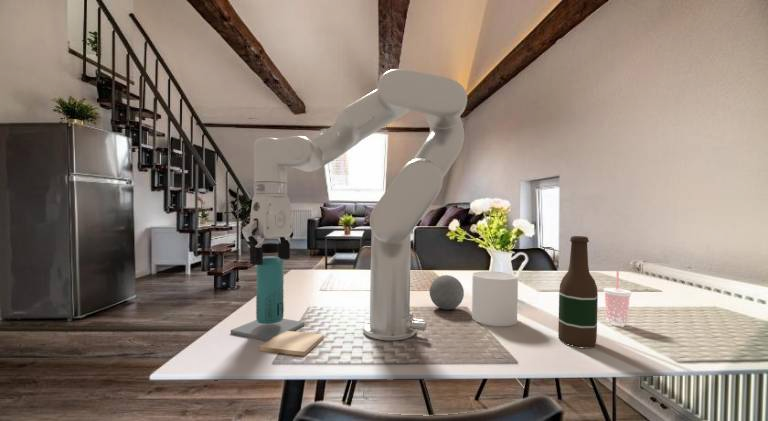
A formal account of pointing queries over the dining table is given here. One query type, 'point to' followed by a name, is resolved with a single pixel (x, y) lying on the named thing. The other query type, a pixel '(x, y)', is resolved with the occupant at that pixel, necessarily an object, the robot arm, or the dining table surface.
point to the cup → (494, 298)
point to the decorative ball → (446, 292)
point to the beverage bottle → (270, 287)
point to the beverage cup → (617, 304)
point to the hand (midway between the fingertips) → (270, 261)
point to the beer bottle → (578, 299)
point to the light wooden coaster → (292, 343)
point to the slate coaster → (266, 329)
